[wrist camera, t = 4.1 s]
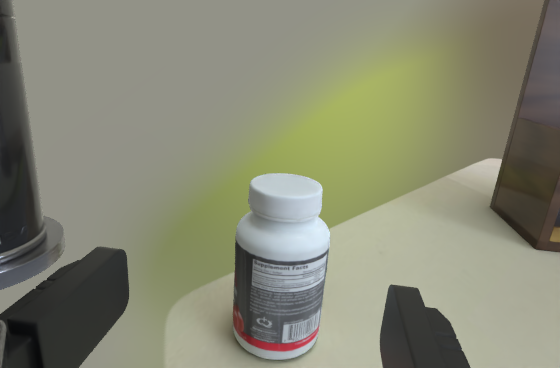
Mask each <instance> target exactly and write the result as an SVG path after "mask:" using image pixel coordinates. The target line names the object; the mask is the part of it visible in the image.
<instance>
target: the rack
mask: <svg viewBox="0 0 560 368" xmlns="http://www.w3.org/2000/svg"><path fill="white" fill-rule="evenodd" d="M490 207H491V208H492V209H493V210H494V211H495V212H496V213H497V214H498V215H499V216H501V217H502V218H503V219H504V220H505V221H506V222H507V223H508V224H509V225H510V226H511V227H512V228H513V229H515V230H516V231H517V232H518V233H519V234H520V235H521V236H522V237H523V238H524V239H525V240H526V241H527V242H529V243H530V244H531V245H532V246H533V247H534V248H535V249H540V250H548V251H557V252H560V0H545V1H544V5H543V8H542V13H541V16H540V20H539V24H538V27H537V31H536V35H535V39H534V42H533V46H532V50H531V54H530V58H529V61H528V65H527V69H526V73H525V76H524V80H523V84H522V88H521V91H520V95H519V99H518V103H517V107H516V111H515V114H514V118H513V122H512V125H511V129H510V133H509V137H508V141H507V144H506V148H505V152H504V156H503V159H502V163H501V167H500V171H499V175H498V178H497V182H496V186H495V190H494V193H493V197H492V201H491V205H490Z"/></svg>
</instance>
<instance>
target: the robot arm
mask: <svg viewBox="0 0 560 368" xmlns="http://www.w3.org/2000/svg"><path fill="white" fill-rule="evenodd" d="M14 17H15V13H14V6H13V0H0V263H2V262H5V261H8V260H11V259H13V258H16V257H18V256H20V255H22V254H24V253H26V252H28V251H30V250H32V249H33V248H35V247H36V246H37V245H39V244H40V243H41V242H42V241H43V240H44V238H45V237H46V233H47V231H46V223H45V221H44V219H43V212H42V205H41V197H40V189H39V182H38V175H37V168H36V161H35V154H34V147H33V140H32V133H31V126H30V119H29V112H28V105H27V98H26V91H25V85H24V77H23V71H22V63H21V58H20V51H19V44H18V36H17V29H16V22H15V19H14ZM128 299H129V283H128V268H127V256H126V253H125V251H124V250H122V249H114V248H107V247H97V248H95V249H94V250H93V251H91V252H90V253H89V254H87V255H86V256H85V257H84V258H82V259H81V260H77V261H75V262H73V263H71V264H68V265H66V266H64V267H62V268H60V269H59V270H57V271H56V272H55V273H53V274H52V275H51V276H49V277H48V278H47V280H45V281H43V282H42V283H40V284H39V285H38V286H36V289H33V290H31V291H30V292H29V293H27V294H26V295H25V296H23V297H22V298H21V299H19V300H18V301H17V302H15V303H14V304H13V305H12V306H10V307H9V308H8V309H6V310H5V311H4V312H3V313H1V314H0V368H79V366H80V365H81V364H82V363H83V362H84V360H85V359H86V358H87V357H88V355H89V354H90V353H91V352H92V351H93V349H94V348H95V347H96V346H97V344H98V343H99V342H100V341H101V340H102V338H103V337H104V336H105V335H106V334H107V332H108V331H109V330H110V329H111V328H112V326H113V325H114V324H115V323H116V321H117V320H118V319H119V318H120V316H121V315H122V314H123V313H124V311H125V309H126V306H127V304H128ZM380 352H381V358H382V364H383V368H470V365H469V363H468V361H467V359H466V357H465V354H464V352H463V351H462V348H461V346H460V343H459V341H458V339H456V334H455V332H454V330H453V328H452V326H451V323H450V322H449V321H448V320H447V319H446V318H445V317H444V316H443V315H442V314H441V313H440V312H439V311H438V310H437V309H436V308H429V307H425V305H424V302H423V300H422V297H421V295H420V292H419V290H418V288H414V287H406V286H398V285H390V286H389V289H388V294H387V299H386V304H385V310H384V315H383V321H382V326H381V333H380Z"/></svg>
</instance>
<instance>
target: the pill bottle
mask: <svg viewBox="0 0 560 368" xmlns="http://www.w3.org/2000/svg"><path fill="white" fill-rule="evenodd" d="M248 202H249V205H250V209H251V212H249V213H247V214H246V215H245V216H244V217H243V218H242V219H241V220H240V222H239V223H238V226H237V229H236V243H235V279H234V300H233V301H234V306H233V330H234V335H235V337H236V339H237V340H238V342H239V343H240V345H241V346H242V347H243V348H244V349H246V350H247V351H248V352H250V353H252V354H254V355H256V356H258V357H261V358H265V359H273V360H284V359H290V358H294V357H297V356H300V355H301V354H304V353H305V352H307V351H308V350H309V349H310V348H311V347H312V346H313V345H314V343H315V342H316V339H317V337H318V332H319V326H320V318H321V308H322V300H323V292H324V284H325V277H326V270H327V262H328V252H329V245H330V233H329V229H328V227H327V225H326V224H325V223H324V222H323V221H322V220H321V219H320V218H319V217H318V215H319V214H320V211H321V208H322V186H321V185H320V184H319V183H318V182H317V181H315V180H313V179H311V178H308V177H304V176H300V175H294V174H283V173H274V174H264V175H261V176H258V177H255V178H254V179H252V181H251V182H250V189H249V199H248Z"/></svg>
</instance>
